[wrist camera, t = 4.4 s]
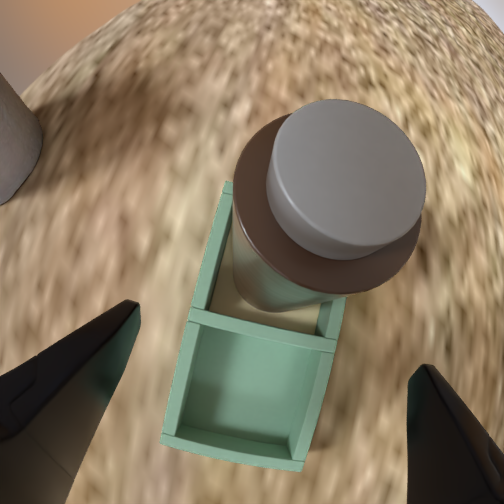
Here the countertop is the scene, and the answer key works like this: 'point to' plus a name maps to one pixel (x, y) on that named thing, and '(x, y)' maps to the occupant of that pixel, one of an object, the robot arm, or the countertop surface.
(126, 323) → the robot arm
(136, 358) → the countertop surface
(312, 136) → the pepper mill
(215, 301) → the caddy
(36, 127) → the pillar candle
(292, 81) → the countertop surface
